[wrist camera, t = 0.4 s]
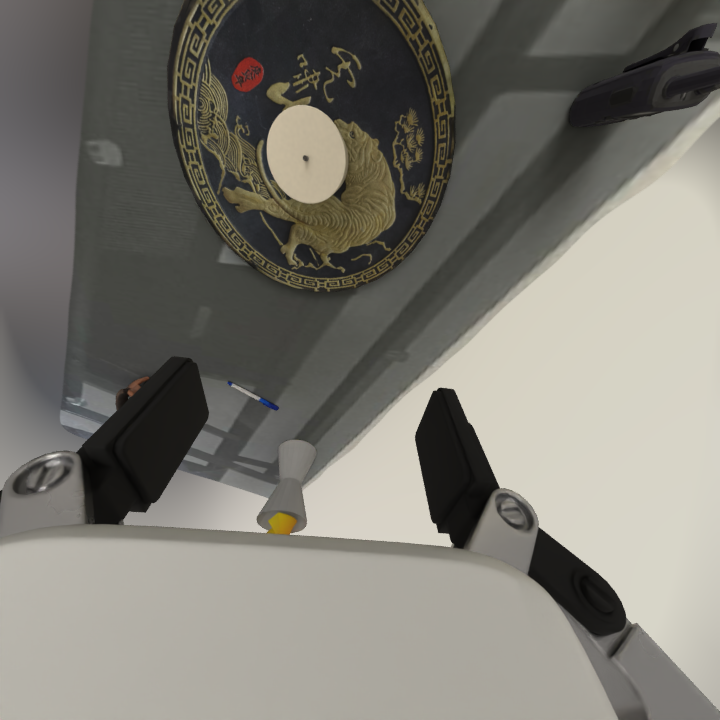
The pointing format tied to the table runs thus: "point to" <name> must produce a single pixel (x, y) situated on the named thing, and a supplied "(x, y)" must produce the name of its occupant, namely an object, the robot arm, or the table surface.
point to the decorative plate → (339, 102)
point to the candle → (306, 154)
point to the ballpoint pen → (254, 396)
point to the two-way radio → (653, 83)
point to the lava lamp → (288, 490)
